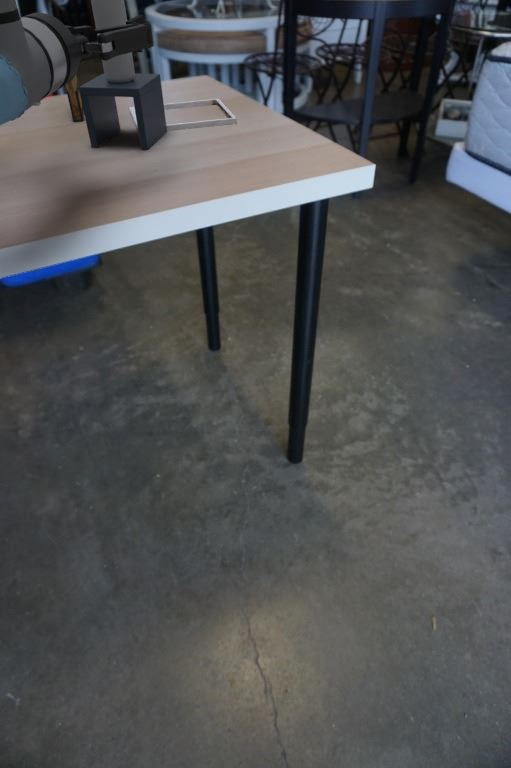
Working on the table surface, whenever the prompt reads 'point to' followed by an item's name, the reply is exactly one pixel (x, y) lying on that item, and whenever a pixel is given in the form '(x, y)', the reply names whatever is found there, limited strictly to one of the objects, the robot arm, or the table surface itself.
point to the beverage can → (109, 14)
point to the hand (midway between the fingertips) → (96, 26)
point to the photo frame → (192, 124)
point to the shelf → (104, 110)
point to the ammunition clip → (75, 100)
